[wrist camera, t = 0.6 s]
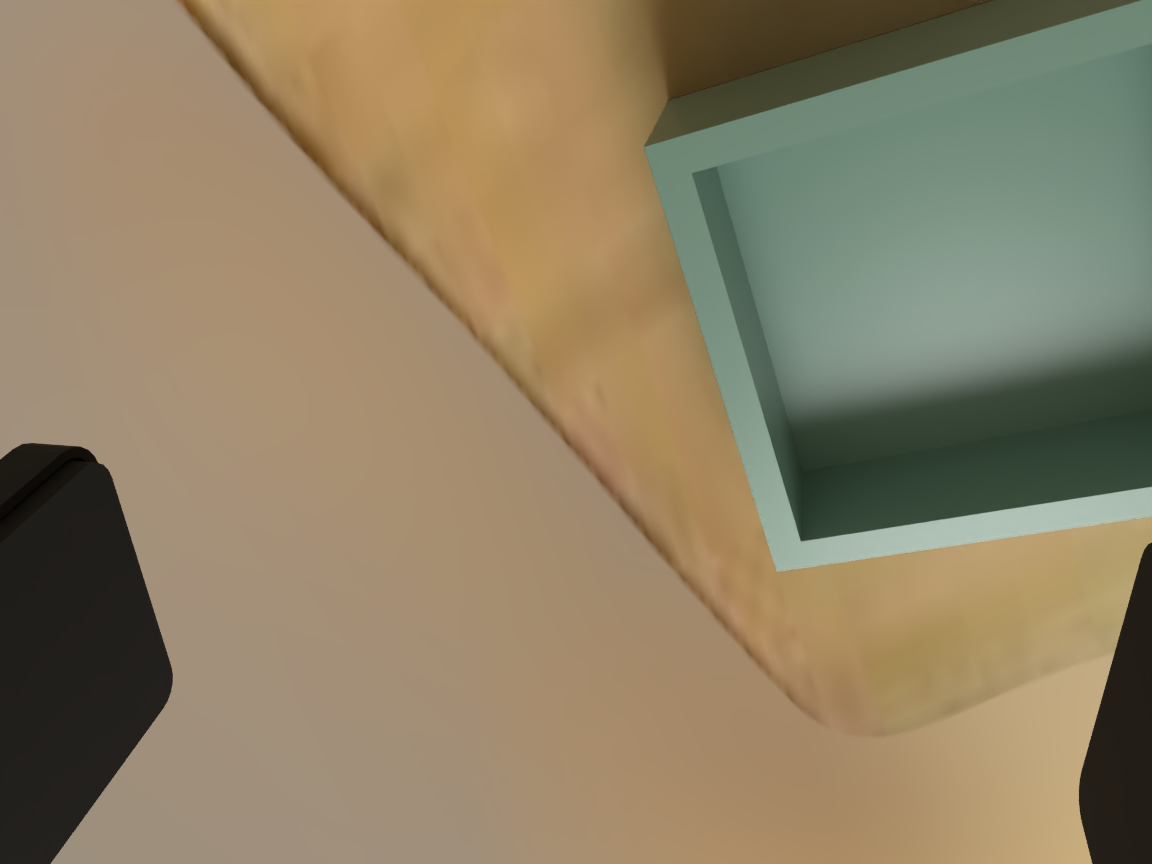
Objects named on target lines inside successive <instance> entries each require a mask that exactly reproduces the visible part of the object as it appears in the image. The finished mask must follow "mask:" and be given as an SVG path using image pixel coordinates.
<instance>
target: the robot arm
mask: <svg viewBox="0 0 1152 864" xmlns="http://www.w3.org/2000/svg"><path fill="white" fill-rule="evenodd" d="M172 679H173V674H172V668H171V664H170V661H169V658H168V655H167V651H166V648H165V645H164V642H163V639H162V635H161V632H160V629H159V626H158V623H157V620H156V616H155V613H154V610H153V607H152V604H151V601H150V597H149V594H148V591H147V588H146V585H145V581H144V578H143V575H142V572H141V569H140V565H139V563H138V559H137V556H136V553H135V549H134V546H133V543H132V540H131V537H130V534H129V530H128V527H127V524H126V521H125V518H124V514H123V511H122V508H121V505H120V502H119V498H118V495H117V492H116V489H115V486H114V483H113V479H112V477H111V475H110V472H109V470H108V469H107V468H106V467H105V466H104V465H102V464H99V463H98V462H97V460H96V458H95V456H94V455H93V454H92V453H91V452H90V451H89V450H87V449H84V448H82V447H77V446H64V445H50V444H36V443H30V444H22V445H20V446H18V447H16V448H15V449H13V450H12V451H11V452H9V453H8V454H7V455H5V456H4V457H3V458H2V459H0V864H51V862H52V861H53V859H54V858H55V856H56V855H57V854H58V853H59V851H60V850H61V848H62V847H63V846H64V844H65V843H66V842H67V840H68V839H69V837H70V836H71V835H72V833H73V832H74V831H75V829H76V828H77V826H78V825H79V824H80V822H81V821H82V819H83V818H84V816H85V815H86V814H87V813H88V811H89V810H90V808H91V807H92V806H93V804H94V803H95V802H96V800H97V799H98V797H99V796H100V795H101V793H102V792H103V791H104V789H105V788H106V786H107V785H108V784H109V782H110V781H111V780H112V778H113V777H114V775H115V774H116V773H117V771H118V770H119V769H120V767H121V766H122V764H123V763H124V762H125V760H126V759H127V758H128V756H129V755H130V753H131V752H132V750H133V749H134V748H135V746H136V745H137V744H138V742H139V741H140V740H141V738H142V737H143V735H144V734H145V733H146V731H147V730H148V729H149V727H150V726H151V725H152V723H153V722H154V720H155V719H156V717H157V716H158V715H159V713H160V712H161V711H162V709H163V708H164V706H165V704H166V703H167V701H168V698H169V695H170V693H171V688H172V681H173V680H172ZM1079 806H1080V815H1081V820H1082V824H1083V828H1084V832H1085V836H1086V840H1087V844H1088V848H1089V851H1090V856H1091V859H1092V863H1093V864H1152V543H1150V544H1148V546H1147V547H1146V548H1145V550H1144V552H1143V555H1142V558H1141V561H1140V564H1139V568H1138V572H1137V575H1136V579H1135V582H1134V586H1133V589H1132V593H1131V597H1130V600H1129V604H1128V607H1127V611H1126V614H1125V618H1124V622H1123V625H1122V629H1121V632H1120V636H1119V640H1118V643H1117V647H1116V650H1115V654H1114V658H1113V661H1112V665H1111V668H1110V672H1109V675H1108V679H1107V682H1106V686H1105V690H1104V693H1103V697H1102V701H1101V704H1100V708H1099V711H1098V715H1097V718H1096V722H1095V725H1094V729H1093V732H1092V736H1091V740H1090V743H1089V747H1088V750H1087V754H1086V757H1085V761H1084V765H1083V768H1082V772H1081V777H1080V785H1079Z"/></svg>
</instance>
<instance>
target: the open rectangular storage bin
mask: <svg viewBox="0 0 1152 864" xmlns="http://www.w3.org/2000/svg"><path fill="white" fill-rule="evenodd" d="M644 149H645V152H646V156H647V159H648V162H649V165H650V168H651V171H652V175H653V178H654V181H655V184H656V187H657V191H658V194H659V197H660V200H661V203H662V207H663V210H664V213H665V216H666V219H667V223H668V226H669V229H670V232H671V235H672V239H673V242H674V245H675V248H676V251H677V255H678V258H679V261H680V264H681V267H682V271H683V274H684V277H685V280H686V283H687V287H688V290H689V293H690V296H691V299H692V303H693V306H694V309H695V312H696V315H697V319H698V322H699V325H700V328H701V331H702V335H703V338H704V341H705V344H706V347H707V350H708V354H709V357H710V360H711V363H712V366H713V370H714V373H715V376H716V379H717V382H718V386H719V389H720V392H721V395H722V398H723V402H724V405H725V408H726V411H727V414H728V418H729V421H730V424H731V427H732V430H733V434H734V437H735V440H736V443H737V446H738V450H739V453H740V456H741V459H742V462H743V466H744V469H745V472H746V475H747V478H748V482H749V485H750V488H751V491H752V494H753V498H754V501H755V504H756V507H757V510H758V514H759V517H760V520H761V523H762V526H763V529H764V533H765V536H766V539H767V542H768V545H769V549H770V552H771V555H772V558H773V561H774V565H775V568H776V571H777V572H779V571H786V570H793V569H800V568H806V567H813V566H820V565H827V564H833V563H840V562H847V561H854V560H861V559H867V558H874V557H881V556H888V555H894V554H901V553H908V552H915V551H921V550H928V549H935V548H942V547H948V546H955V545H962V544H969V543H975V542H982V541H989V540H996V539H1002V538H1009V537H1016V536H1023V535H1029V534H1036V533H1043V532H1050V531H1057V530H1063V529H1070V528H1077V527H1084V526H1090V525H1097V524H1104V523H1111V522H1117V521H1124V520H1131V519H1138V518H1144V517H1151V516H1152V0H993V1H990V2H986V3H983V4H980V5H977V6H973V7H970V8H967V9H964V10H960V11H957V12H954V13H951V14H947V15H944V16H941V17H938V18H934V19H931V20H928V21H925V22H921V23H918V24H915V25H912V26H908V27H905V28H902V29H899V30H895V31H892V32H889V33H886V34H882V35H879V36H876V37H873V38H869V39H866V40H863V41H860V42H856V43H853V44H850V45H847V46H844V47H840V48H837V49H834V50H831V51H827V52H824V53H821V54H818V55H814V56H811V57H808V58H805V59H801V60H798V61H795V62H792V63H788V64H785V65H782V66H779V67H775V68H772V69H769V70H766V71H762V72H759V73H756V74H753V75H749V76H746V77H743V78H740V79H736V80H733V81H730V82H727V83H723V84H720V85H717V86H714V87H710V88H707V89H704V90H701V91H697V92H694V93H691V94H688V95H684V96H681V97H678V98H675V99H671V100H668V102H667V104H666V106H665V107H664V109H663V111H662V113H661V115H660V117H659V119H658V121H657V123H656V125H655V127H654V129H653V131H652V132H651V134H650V136H649V138H648V140H647V142H646V144H645V146H644Z"/></svg>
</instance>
